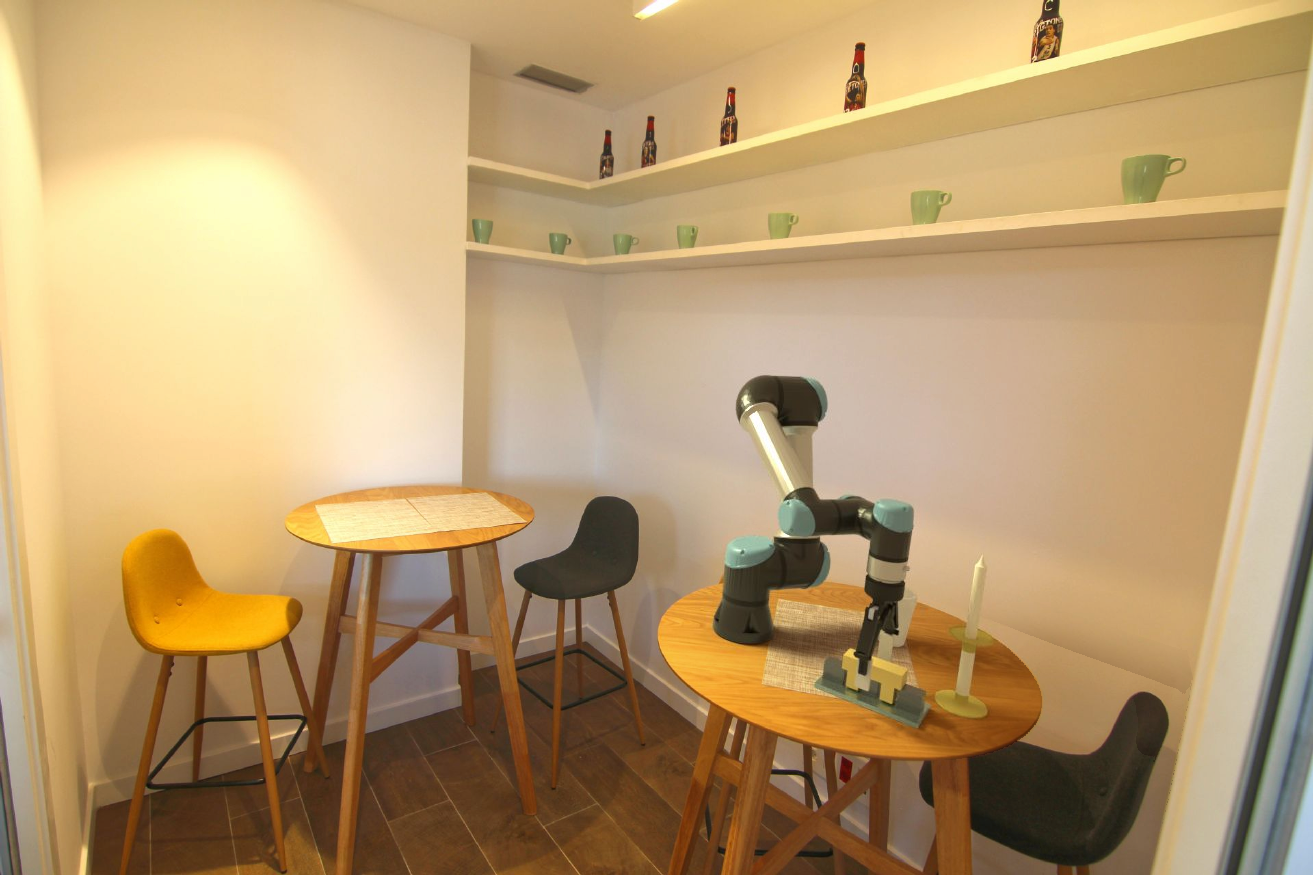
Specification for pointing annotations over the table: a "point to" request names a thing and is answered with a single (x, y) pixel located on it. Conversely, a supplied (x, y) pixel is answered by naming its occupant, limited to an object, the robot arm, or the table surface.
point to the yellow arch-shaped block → (877, 675)
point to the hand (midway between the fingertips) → (873, 674)
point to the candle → (968, 654)
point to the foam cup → (904, 616)
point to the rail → (874, 695)
